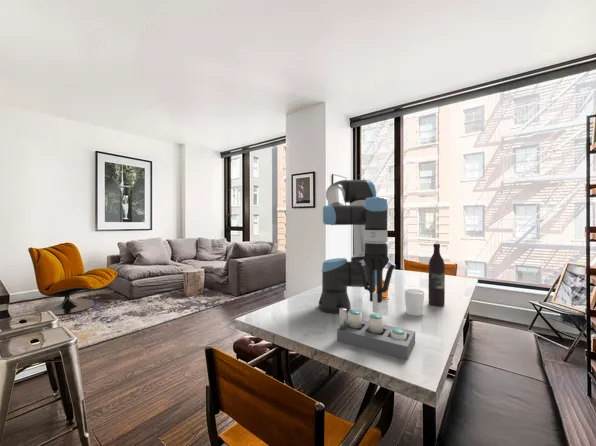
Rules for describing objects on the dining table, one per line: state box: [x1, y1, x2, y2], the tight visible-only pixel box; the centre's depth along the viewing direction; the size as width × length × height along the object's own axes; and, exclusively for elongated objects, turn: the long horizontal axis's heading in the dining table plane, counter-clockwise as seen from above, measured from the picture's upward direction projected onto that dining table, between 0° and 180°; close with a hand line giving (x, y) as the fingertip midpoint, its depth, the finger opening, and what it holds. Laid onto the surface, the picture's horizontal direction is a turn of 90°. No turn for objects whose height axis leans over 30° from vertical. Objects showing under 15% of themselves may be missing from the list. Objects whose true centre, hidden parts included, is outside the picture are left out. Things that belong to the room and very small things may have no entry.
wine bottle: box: [428, 243, 446, 308], centre depth 131 cm, size 7×7×30 cm
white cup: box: [404, 288, 425, 317], centre depth 119 cm, size 8×8×10 cm
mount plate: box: [336, 319, 416, 361], centre depth 91 cm, size 23×13×4 cm, turn 57°
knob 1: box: [347, 309, 363, 328], centre depth 95 cm, size 5×5×5 cm
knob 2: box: [391, 327, 406, 341], centre depth 87 cm, size 5×5×5 cm
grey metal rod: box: [338, 308, 347, 330], centre depth 92 cm, size 2×2×7 cm
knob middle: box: [368, 313, 384, 333], centre depth 91 cm, size 5×5×5 cm
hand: (375, 311), depth 91 cm, fingers closed
